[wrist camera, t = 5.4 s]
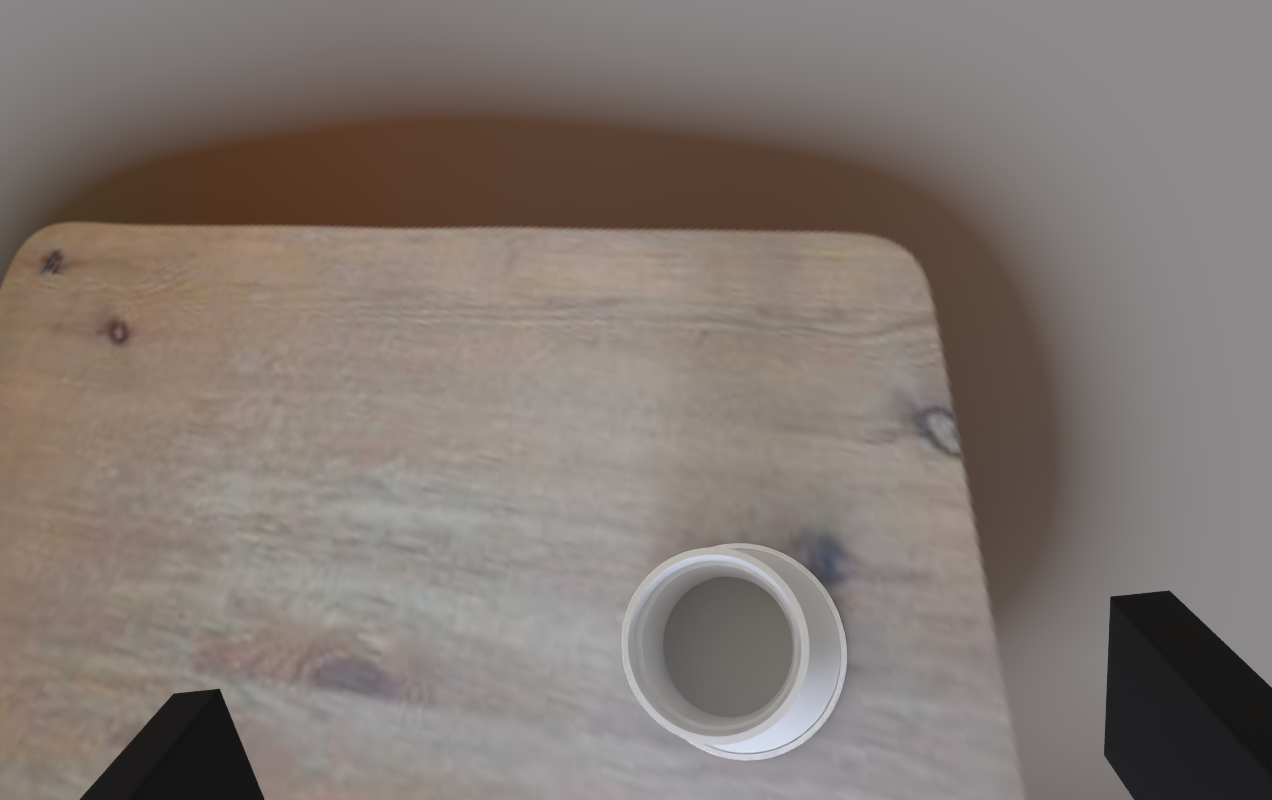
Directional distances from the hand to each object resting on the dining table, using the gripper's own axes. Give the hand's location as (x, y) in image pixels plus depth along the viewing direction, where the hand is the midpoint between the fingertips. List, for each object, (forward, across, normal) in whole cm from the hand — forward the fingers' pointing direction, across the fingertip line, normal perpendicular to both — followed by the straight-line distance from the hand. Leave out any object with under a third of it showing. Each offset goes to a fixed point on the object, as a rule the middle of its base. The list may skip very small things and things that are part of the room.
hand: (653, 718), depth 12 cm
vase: (+16, +1, -11) cm, 19 cm away
